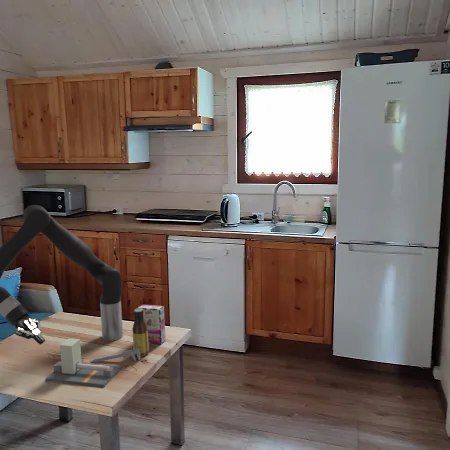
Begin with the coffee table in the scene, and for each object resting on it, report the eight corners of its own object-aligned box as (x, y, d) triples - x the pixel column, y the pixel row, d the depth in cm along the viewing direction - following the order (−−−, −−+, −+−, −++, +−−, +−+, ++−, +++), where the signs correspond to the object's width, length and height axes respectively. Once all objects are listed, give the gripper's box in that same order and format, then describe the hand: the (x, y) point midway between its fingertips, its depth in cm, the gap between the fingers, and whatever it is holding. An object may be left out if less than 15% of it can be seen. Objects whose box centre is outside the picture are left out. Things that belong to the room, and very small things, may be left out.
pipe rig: (65, 363, 183) (65, 353, 182) (120, 368, 178) (120, 358, 177) (45, 380, 169) (44, 370, 169) (104, 387, 164) (103, 375, 164)
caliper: (140, 359, 186) (139, 345, 185) (140, 361, 185) (139, 346, 184) (90, 361, 185) (89, 347, 184) (90, 363, 184) (89, 348, 183)
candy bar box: (166, 340, 204) (164, 305, 201) (161, 344, 199) (160, 309, 197) (143, 337, 207) (142, 303, 204) (138, 342, 202) (137, 307, 200)
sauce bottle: (141, 349, 195) (139, 305, 192) (152, 352, 192) (150, 308, 188) (130, 354, 190) (128, 310, 187) (140, 358, 186) (138, 313, 183)
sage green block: (70, 365, 178) (68, 338, 176) (81, 366, 177) (80, 339, 175) (62, 373, 172) (59, 344, 170) (73, 374, 171) (71, 345, 169)
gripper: (6, 310, 168) (38, 343, 168) (28, 299, 181) (58, 330, 180) (-5, 323, 170) (26, 355, 170) (18, 310, 183) (47, 341, 182)
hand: (43, 342), depth 175 cm, fingers closed
